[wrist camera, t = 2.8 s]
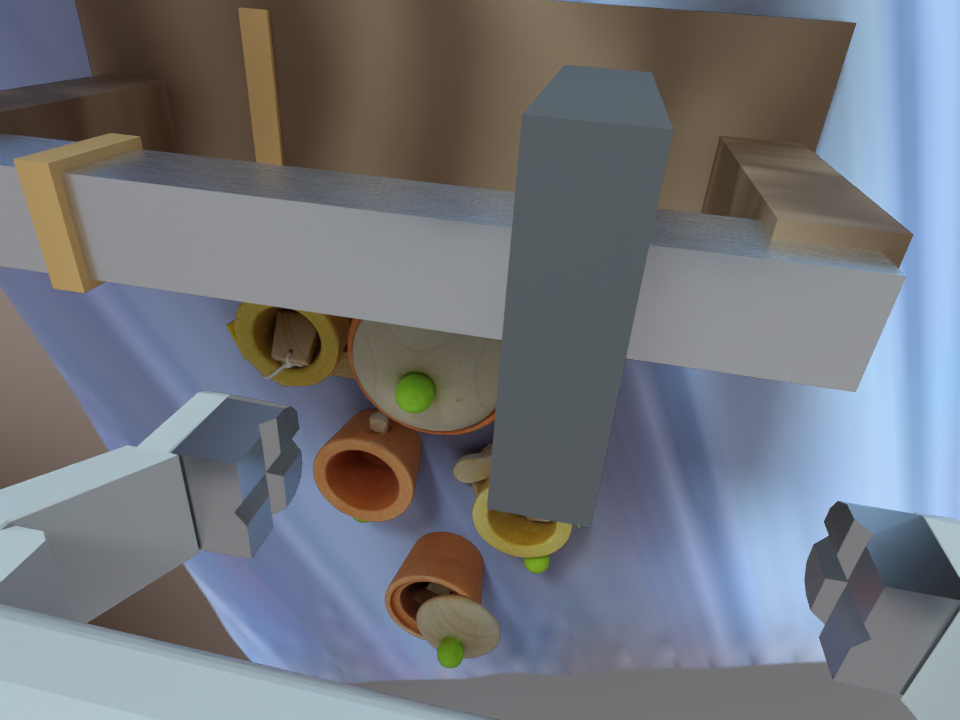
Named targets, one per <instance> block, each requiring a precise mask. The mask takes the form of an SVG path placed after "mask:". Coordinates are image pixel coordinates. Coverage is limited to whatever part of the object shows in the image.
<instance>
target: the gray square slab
mask: <svg viewBox="0 0 960 720" xmlns="http://www.w3.org/2000/svg"><path fill="white" fill-rule="evenodd" d="M672 134H673V127H672V124H671V122H670V119H669V116H668V114H667V111H666V108H665V106H664V103H663V100H662V98H661V95H660V93H659V90H658V87H657V85H656V82H655V79H654V77H653V74H652V72H643V71H631V70H620V69H608V68H596V67H585V66H573V65H563V67H562V68H561V69H560V70H559V71H558V73H557V74H556V75H555V76H554V77H553V78H552V80H551V81H550V82H549V83H548V84H547V86H546V87H545V88H544V89H543V90H542V91H541V93H540V94H539V95H538V96H537V97H536V99H535V100H534V101H533V102H532V103H531V104H530V106H529V107H528V108H527V109H526V110H525V112H524V113H523V114H522V120H521V131H520V143H519V154H518V165H517V176H516V187H515V199H514V210H513V221H512V232H511V243H510V255H509V266H508V277H507V288H506V299H505V311H504V322H503V333H502V344H501V355H500V367H499V378H498V389H497V400H496V411H495V423H494V434H493V445H492V456H491V468H490V479H489V490H488V501H487V509H491V510H497V511H502V512H508V513H513V514H518V515H524V516H529V517H535V518H540V519H545V520H551V521H556V522H562V523H567V524H573V525H578V526H583V527H589V528H591V525H592V520H593V515H594V510H595V505H596V500H597V496H598V491H599V486H600V481H601V476H602V471H603V467H604V462H605V457H606V452H607V447H608V442H609V438H610V433H611V428H612V423H613V418H614V414H615V409H616V404H617V399H618V394H619V389H620V385H621V380H622V375H623V370H624V365H625V360H626V356H627V351H628V346H629V341H630V336H631V331H632V327H633V322H634V317H635V312H636V307H637V302H638V298H639V293H640V288H641V283H642V278H643V274H644V269H645V264H646V259H647V254H648V249H649V245H650V240H651V235H652V230H653V225H654V220H655V216H656V211H657V206H658V201H659V196H660V191H661V187H662V182H663V177H664V172H665V167H666V162H667V158H668V153H669V148H670V143H671V138H672Z"/></svg>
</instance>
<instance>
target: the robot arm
mask: <svg viewBox="0 0 960 720" xmlns="http://www.w3.org/2000/svg"><path fill="white" fill-rule="evenodd" d="M298 430H299V424H298V417H297V411H296V410H294V409H293V408H292V407H291V406H287V405H282V404H277V403H271V402H266V401H261V400H256V399H251V398H246V397H241V396H236V395H235V396H232V395H229V394H224V393H218V392H213V391H202V392H198V393H197V394H195V395H194V396H193V397H192V398H191V399H190V400H189V401H188V402H186V403H185V404H184V405H183V406H182V407H181V408H180V409H179V410H178V411H176V412H175V413H174V414H173V415H172V416H171V417H170V418H169V419H167V420H166V421H165V422H164V423H163V424H162V425H161V426H160V427H158V428H157V429H156V430H155V431H154V432H153V433H152V434H151V435H150V436H148V437H147V438H146V439H145V440H144V441H143V442H142V443H141V444H139V445H138V446H137V447H134V446H128V445H127V446H124V447H121V448H118V449H116V450H113V451H110V452H107V453H104V454H101V455H99V456H96V457H93V458H90V459H87V460H84V461H82V462H78V463H76V464H73V465H70V466H67V467H64V468H62V469H59V470H56V471H53V472H50V473H47V474H44V475H41V476H39V477H36V478H33V479H30V480H27V481H24V482H22V483H19V484H16V485H13V486H10V487H7V488H4V489H1V490H0V720H497V719H493V718H489V717H485V716H480V715H476V714H472V713H467V712H463V711H459V710H455V709H451V708H446V707H442V706H437V705H433V704H428V703H425V702H421V701H416V700H412V699H408V698H403V697H399V696H395V695H391V694H386V693H382V692H378V691H373V690H369V689H364V688H361V687H356V686H352V685H348V684H343V683H339V682H335V681H331V680H326V679H322V678H318V677H313V676H309V675H305V674H301V673H296V672H292V671H288V670H283V669H279V668H275V667H271V666H266V665H262V664H258V663H253V662H249V661H245V660H240V659H236V658H232V657H228V656H223V655H219V654H215V653H210V652H206V651H202V650H198V649H193V648H189V647H185V646H180V645H176V644H172V643H168V642H163V641H159V640H155V639H150V638H146V637H142V636H138V635H133V634H129V633H124V632H120V631H116V630H112V629H107V628H103V627H99V626H94V625H90V624H86V623H87V622H89V621H91V620H92V619H94V618H95V617H97V616H99V615H100V614H102V613H103V612H105V611H107V610H108V609H110V608H111V607H113V606H115V605H116V604H118V603H119V602H121V601H123V600H124V599H126V598H127V597H129V596H131V595H132V594H134V593H135V592H137V591H139V590H140V589H142V588H143V587H145V586H146V585H148V584H150V583H151V582H153V581H155V580H156V579H158V578H159V577H161V576H163V575H164V574H166V573H167V572H169V571H171V570H172V569H174V568H175V567H177V566H179V565H180V564H182V563H183V562H185V561H187V560H188V559H190V558H191V557H193V556H195V555H196V554H198V553H199V550H204V551H210V552H216V553H221V554H227V555H232V556H238V557H243V558H249V559H252V558H253V557H254V555H255V554H256V552H257V551H258V549H259V548H260V546H261V545H262V544H263V542H264V541H265V539H266V538H267V536H268V535H269V533H270V532H271V530H272V529H273V521H272V515H273V514H275V513H277V512H279V511H281V510H283V509H285V508H287V506H288V505H289V503H290V502H291V500H292V499H293V497H294V496H295V493H296V490H297V487H298V485H299V482H300V479H301V471H302V454H301V450H300V449H299V448H298V446H297V445H296V444H295V443H294V441H293V440H292V438H293V436H294V435H295V434H296V432H297V431H298ZM824 523H825V526H826V528H827V531H828V534H829V536H828V537H826V538H824V539H822V540H821V541H819V542H817V543H815V544H814V545H813V547H812V550H811V552H810V555H809V557H808V560H807V563H806V572H805V589H806V596H807V600H808V603H809V607H810V610H811V611H812V612H813V613H814V614H815V615H816V616H817V617H818V618H819V619H820V620H821V621H822V622H823V623H824V624H825V626H824V628H823V630H822V632H821V634H820V636H819V639H820V642H821V645H822V648H823V651H824V654H825V658H826V661H827V664H828V667H829V670H830V673H831V676H832V679H833V681H837V682H841V683H845V684H850V685H854V686H859V687H862V688H867V689H871V690H875V691H879V692H884V693H888V694H892V695H896V696H901V697H902V698H901V700H902V702H903V703H904V704H905V705H906V706H907V708H908V709H909V710H910V711H911V712H912V713H913V714H914V715H915V717H916V718H917V719H918V720H960V522H959V521H958V520H956V519H955V518H948V517H941V516H934V515H927V514H920V513H914V514H912V513H906V512H900V511H894V510H888V509H882V508H876V507H871V506H865V505H859V504H853V503H847V502H841V501H837V502H836V503H835V504H834V505H833V506H832V507H831V508H830V510H829V512H828V514H827V516H826V518H825V521H824Z"/></svg>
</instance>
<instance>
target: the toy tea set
mask: <svg viewBox="0 0 960 720" xmlns="http://www.w3.org/2000/svg"><path fill="white" fill-rule="evenodd" d="M226 327H227V328H228V330H229V332H230V333H231V335H232V337H233V339H234V341H235V342H236V344H237V346H238V348H239V350H240V351H241V353H242V354H243V356H244V358H245V359H248V361H249V362H250V363H251V364H252V365H253V366H254V367H255V368H256V369H257V370H258V371H259V372H261V373H262V378H263V379H264V380H266V379H272V380H274V381H275V382H276V383H278V384H279V385H282V386H310V385H313V384H317V383H319V382H321V381H323V380H324V379H325V378H327V377H329V376H340V377H344V378H349V379H355V380H356V381H357V383H358V385H359V387H360V389H361V390H362V391H363V393H364V394H365V396H366V397H367V398H368V399H369V400H370V401H371V403H372V404H373V405H374V406H375V407H377V408H378V409H368V410H364V411H361V412H359V413H358V414H356V415H355V416H353V417H352V418H351V419H350V420H349V421H348V422H347V423H346V424H345V425H344V426H343V427H342V428H341V429H340V430H339V431H338V432H337V433H336V434H335V435H334V436H333V437H332V438H331V439H330V440H329V441H328V442H327V443H326V444H325V445H324V446H323V447H322V448H321V449H320V450H319V452H318V453H317V455H316V458H315V460H314V465H313V474H314V479H315V482H316V484H317V487H318V489H319V491H320V492H321V493H322V495H323V496H324V497H325V499H326V500H327V501H328V502H329V503H330V504H332V505H333V506H334V507H335V508H337V509H338V510H340V511H341V512H343V513H345V514H347V515H350V516H352V517H353V518H354V519H355V520H356V521H358V522H362V523H364V522H368V521H372V522H380V521H387V520H391V519H393V518H395V517H397V516H399V515H401V514H402V513H404V512H405V511H406V509H407V508H408V507H409V506H410V504H411V502H412V499H413V495H414V490H415V485H416V480H417V475H418V470H419V465H420V459H421V454H422V442H421V439H420V436H419V434H418V432H417V431H420V432H424V433H429V434H437V435H458V434H463V433H468V432H472V431H475V430H478V429H480V428H482V427H484V426H486V425H488V424H490V423H491V422H493V421H494V420H495V411H496V400H497V389H498V378H499V367H500V355H501V344H502V340H498V339H492V338H485V337H478V336H471V335H464V334H458V333H451V332H444V331H437V330H430V329H424V328H417V327H410V326H403V325H396V324H390V323H383V322H376V321H369V320H363V319H356V318H349V317H342V316H335V315H329V314H322V313H315V312H308V311H301V310H295V309H288V308H281V307H274V306H267V305H261V304H254V303H247V302H242V303H241V304H240V306H239V307H238V310H237V312H236V315H235V320H234V321H232V322H231V323H229V324H227V325H226ZM416 430H417V431H416ZM492 445H493V442H492V443H490V444H489V445H487V446H486V447H485V448H484V449H483V450H482V451H481V452H480V453H473V454H467V455H465V456H463V457H461V458H460V459H459V460H457V462H456V463H455V465H454V467H453V475H454V477H455V478H456V479H457V480H458V481H461V482H463V483H472V486H473V490H474V493H475V495H476V497H477V498H476V500H475V502H474V504H473V510H472V517H473V523H474V525H475V528H476V529H477V531H478V533H479V535H480V536H481V537H482V538H483V539H484V540H485V541H486V542H487V543H488V544H489V545H491V546H492V547H494V548H495V549H497V550H499V551H501V552H503V553H506V554H509V555H512V556H515V557H523V563H524V565H525V567H526V568H527V569H528V570H529V571H530V572H532V573H542V572H544V571H545V570H546V569H547V568H548V566H549V563H550V557H549V554H551V553H553V552H555V551H557V550H558V549H560V548H561V547H562V546H563V545H564V544H565V543H566V542H567V541H568V539H569V537H570V534H571V531H572V525H573V524H567V523H562V522H556V521H551V520H545V519H540V518H535V517H529V516H524V515H518V514H513V513H508V512H502V511H497V510H491V509H487V501H488V490H489V479H490V468H491V456H492ZM576 526H577V528H580V526H578V525H576ZM482 579H483V558H482V556H481V554H480V552H479V551H478V549H477V548H476V547H475V546H474V545H473V544H472V543H471V542H469V541H468V540H466V539H465V538H463V537H461V536H459V535H456V534H452V533H448V532H433V533H429V534H426V535H424V536H422V537H421V538H420V539H419V540H418V541H417V542H416V543H415V545H414V547H413V548H412V550H411V551H410V553H409V555H408V556H407V558H406V559H405V561H404V563H403V564H402V566H401V568H400V569H399V571H398V572H397V574H396V576H395V577H394V579H393V581H392V582H391V584H390V585H389V587H388V589H387V591H386V594H385V605H386V608H387V611H388V613H389V615H390V617H391V618H392V619H393V620H394V622H395V623H396V624H397V625H398V626H400V627H401V628H402V629H403V630H405V631H406V632H408V633H409V634H412V635H414V636H416V637H418V638H421V639H424V640H427V642H428V643H429V644H430V645H432V646H433V647H434V648H435V649H437V650H438V651H437V656H438V660H439V662H440V663H441V665H442V666H444V667H446V668H454V667H457V666H458V665H459V664H460V663H461V661H462V660H463V658H474V657H478V656H482V655H484V654H487V653H489V652H490V651H492V650H493V649H494V648H495V647H496V646H497V644H498V642H499V640H500V627H499V624H498V622H497V620H496V618H495V617H494V616H493V615H492V614H491V612H489V611H488V610H487V609H486V608H485V607H483V606H482V605H481V597H482Z"/></svg>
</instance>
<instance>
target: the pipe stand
mask: <svg viewBox="0 0 960 720" xmlns="http://www.w3.org/2000/svg"><path fill="white" fill-rule="evenodd" d="M75 3H76V7H77V11H78V15H79V20H80V24H81V28H82V33H83V37H84V41H85V46H86V50H87V54H88V59H89V63H90V67H91V72H92V77H85V78H79V79H72V80H66V81H59V82H53V83H46V84H40V85H33V86H27V87H20V88H13V89H7V90H0V266H3V267H9V268H16V269H23V270H30V271H37V272H43V273H48V274H49V277H50V280H51V283H52V286H53V288H54V289H60V290H67V291H73V292H80V293H86V292H88V291H89V290H91V289H93V288H95V287H97V286H98V285H100V284H102V283H104V282H111V283H118V284H125V285H132V286H138V287H145V288H152V289H159V290H166V291H172V292H179V293H186V294H193V295H200V296H206V297H213V298H220V299H227V300H234V301H240V302H247V303H254V304H261V305H267V306H274V307H281V308H288V309H295V310H301V311H308V312H315V313H322V314H329V315H335V316H342V317H349V318H356V319H363V320H369V321H376V322H383V323H390V324H396V325H403V326H410V327H417V328H424V329H430V330H437V331H444V332H451V333H458V334H464V335H471V336H478V337H485V338H492V339H498V340H502V333H503V322H504V311H505V299H506V288H507V277H508V266H509V255H510V243H511V232H512V221H513V210H514V199H515V187H516V176H517V165H518V154H519V143H520V131H521V120H522V114H523V113H524V112H525V110H526V109H527V108H528V107H529V106H530V104H531V103H532V102H533V101H534V100H535V99H536V97H537V96H538V95H539V94H540V93H541V91H542V90H543V89H544V88H545V87H546V86H547V84H548V83H549V82H550V81H551V80H552V78H553V77H554V76H555V75H556V74H557V73H558V71H559V70H560V69H561V68H562V67H563V65H573V66H585V67H596V68H608V69H620V70H631V71H643V72H652V74H653V77H654V79H655V82H656V85H657V87H658V90H659V93H660V95H661V98H662V100H663V103H664V106H665V108H666V111H667V114H668V116H669V119H670V122H671V124H672V127H673V134H672V138H671V143H670V148H669V153H668V158H667V162H666V167H665V172H664V177H663V182H662V187H661V191H660V196H659V201H658V206H657V211H656V216H655V220H654V225H653V230H652V235H651V240H650V245H649V249H648V254H647V259H646V264H645V269H644V274H643V278H642V283H641V288H640V293H639V298H638V302H637V307H636V312H635V317H634V322H633V327H632V331H631V336H630V341H629V346H628V351H627V356H626V358H627V359H634V360H641V361H648V362H654V363H661V364H668V365H675V366H682V367H688V368H695V369H702V370H709V371H716V372H722V373H729V374H736V375H743V376H750V377H756V378H763V379H770V380H777V381H783V382H790V383H797V384H804V385H811V386H817V387H824V388H831V389H838V390H845V391H851V392H856V390H857V388H858V386H859V383H860V381H861V379H862V376H863V374H864V372H865V369H866V367H867V365H868V363H869V360H870V358H871V356H872V353H873V351H874V349H875V347H876V344H877V342H878V340H879V337H880V335H881V333H882V331H883V328H884V326H885V324H886V321H887V319H888V317H889V315H890V312H891V310H892V308H893V305H894V303H895V301H896V298H897V296H898V294H899V292H900V289H901V287H902V285H903V282H904V280H905V278H906V276H905V275H904V274H903V273H902V272H901V271H900V270H899V267H900V265H901V262H902V260H903V258H904V255H905V253H906V251H907V248H908V246H909V243H910V241H911V239H912V236H913V234H912V233H911V232H910V231H909V230H907V229H906V228H905V227H904V226H903V225H901V224H900V223H899V222H898V221H896V220H895V219H894V218H893V217H892V216H890V215H889V214H888V213H887V212H886V211H884V210H883V209H882V208H881V207H879V206H878V205H877V204H876V203H875V202H873V201H872V200H871V199H870V198H868V197H867V196H866V195H865V194H864V193H862V192H861V191H860V190H859V189H858V188H856V187H855V186H854V185H853V184H851V183H850V182H849V181H848V180H847V179H845V178H844V177H843V176H842V175H841V174H839V173H838V172H837V171H836V170H834V169H833V168H832V167H831V166H830V165H828V164H827V163H826V162H825V161H823V160H822V159H821V158H820V157H819V156H817V155H816V154H815V150H816V147H817V144H818V141H819V138H820V134H821V131H822V128H823V125H824V122H825V119H826V116H827V113H828V110H829V106H830V103H831V100H832V97H833V94H834V91H835V88H836V85H837V82H838V79H839V75H840V72H841V69H842V66H843V63H844V60H845V57H846V54H847V51H848V47H849V44H850V41H851V38H852V35H853V32H854V29H855V26H856V23H851V22H843V21H829V20H815V19H801V18H787V17H774V16H760V15H746V14H732V13H718V12H705V11H691V10H677V9H663V8H649V7H636V6H622V5H608V4H594V3H581V2H567V1H553V0H75Z"/></svg>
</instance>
